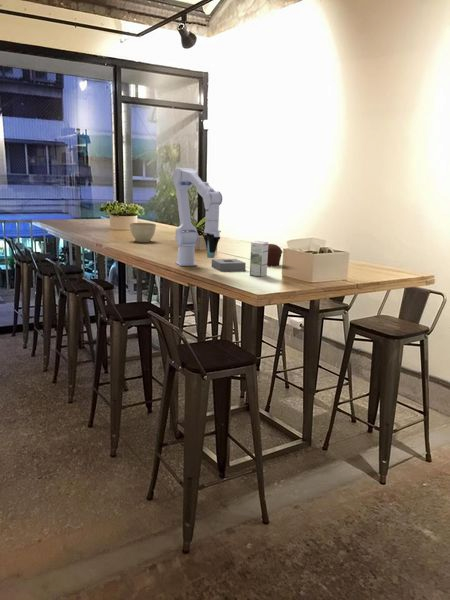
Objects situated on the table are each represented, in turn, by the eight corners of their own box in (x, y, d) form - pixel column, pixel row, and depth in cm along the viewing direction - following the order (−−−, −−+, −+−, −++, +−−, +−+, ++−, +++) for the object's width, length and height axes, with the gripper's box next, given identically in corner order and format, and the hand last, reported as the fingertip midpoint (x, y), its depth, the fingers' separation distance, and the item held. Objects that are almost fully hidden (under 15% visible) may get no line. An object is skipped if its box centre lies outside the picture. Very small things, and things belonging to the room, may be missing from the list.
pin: (206, 256, 227) (206, 238, 226) (213, 256, 229) (213, 238, 227) (208, 258, 225) (209, 239, 223) (215, 257, 226) (216, 239, 224)
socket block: (211, 266, 242) (211, 259, 241) (235, 266, 246) (235, 258, 245) (220, 271, 231) (220, 263, 230) (245, 270, 235) (245, 262, 234)
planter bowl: (125, 241, 320) (125, 223, 318) (136, 239, 335) (136, 222, 333) (149, 243, 316) (149, 225, 313) (159, 241, 331) (160, 223, 328)
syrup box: (267, 275, 225) (269, 241, 222) (261, 277, 220) (262, 243, 217) (255, 273, 228) (257, 240, 225) (249, 275, 223) (250, 241, 220)
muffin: (255, 262, 258) (256, 242, 256) (276, 262, 261) (278, 242, 259) (263, 266, 247) (264, 245, 245) (285, 266, 250) (286, 246, 248)
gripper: (226, 221, 218) (225, 254, 221) (215, 218, 231) (214, 249, 234) (210, 221, 215) (209, 254, 218) (200, 218, 228) (199, 249, 232)
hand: (210, 251), depth 226 cm, fingers closed on pin, 3 cm apart
